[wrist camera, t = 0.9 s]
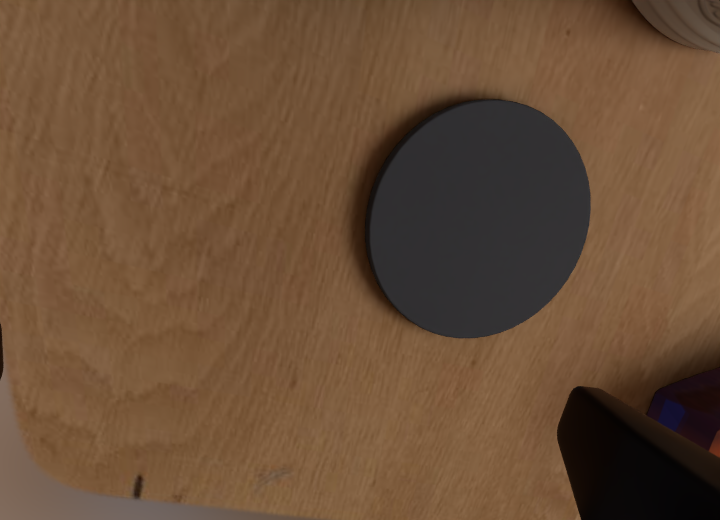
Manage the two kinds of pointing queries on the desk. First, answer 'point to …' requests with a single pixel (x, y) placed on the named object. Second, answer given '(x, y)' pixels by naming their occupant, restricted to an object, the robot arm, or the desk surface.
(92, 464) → the desk surface
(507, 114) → the felt pad
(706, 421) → the toy rocket
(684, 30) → the jar
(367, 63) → the desk surface
